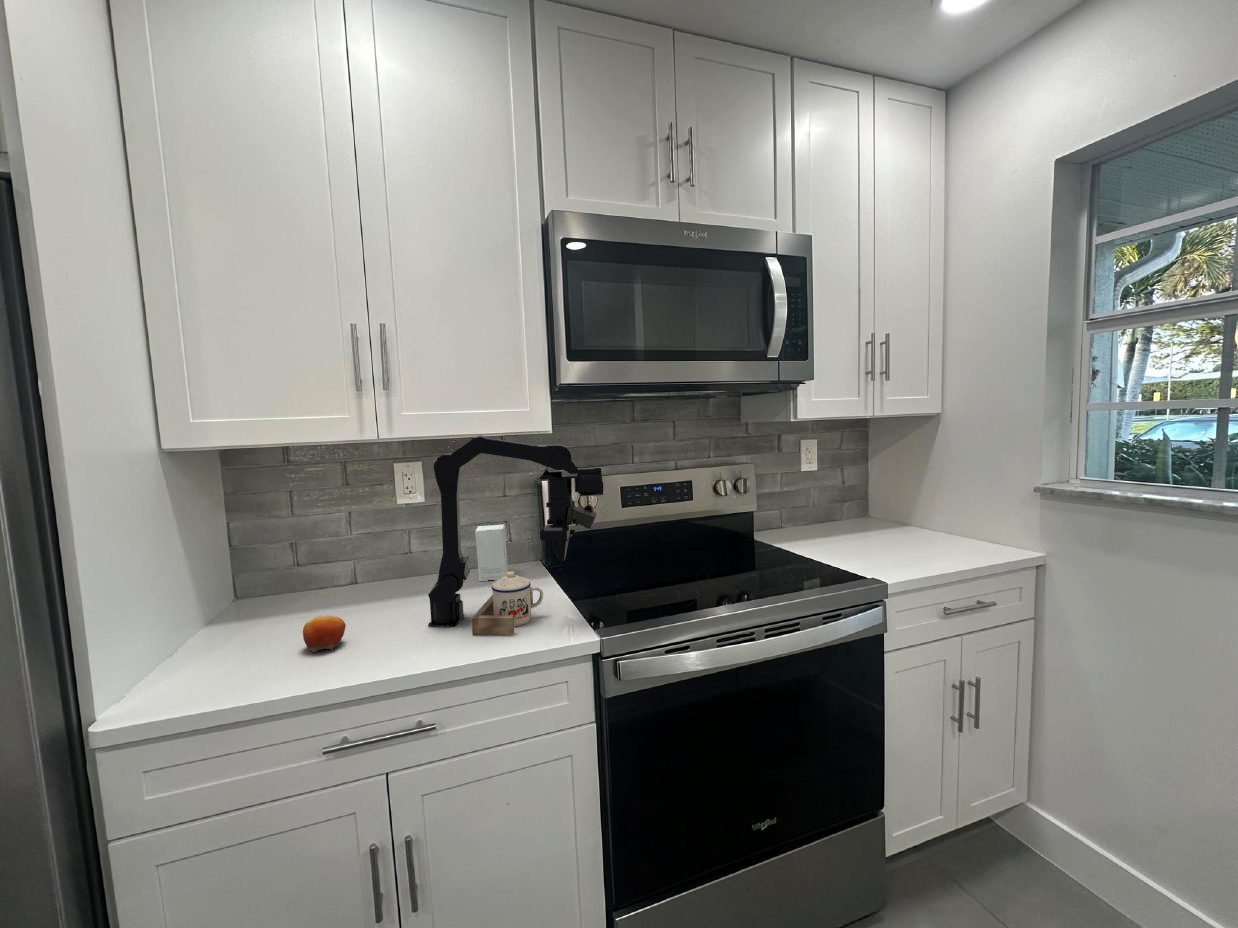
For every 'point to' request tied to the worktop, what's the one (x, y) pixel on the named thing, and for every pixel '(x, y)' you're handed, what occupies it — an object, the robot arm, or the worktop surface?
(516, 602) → the teacup with lid
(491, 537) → the skincare box
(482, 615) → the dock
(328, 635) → the fruit
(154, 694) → the worktop surface
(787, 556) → the worktop surface
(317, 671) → the worktop surface
